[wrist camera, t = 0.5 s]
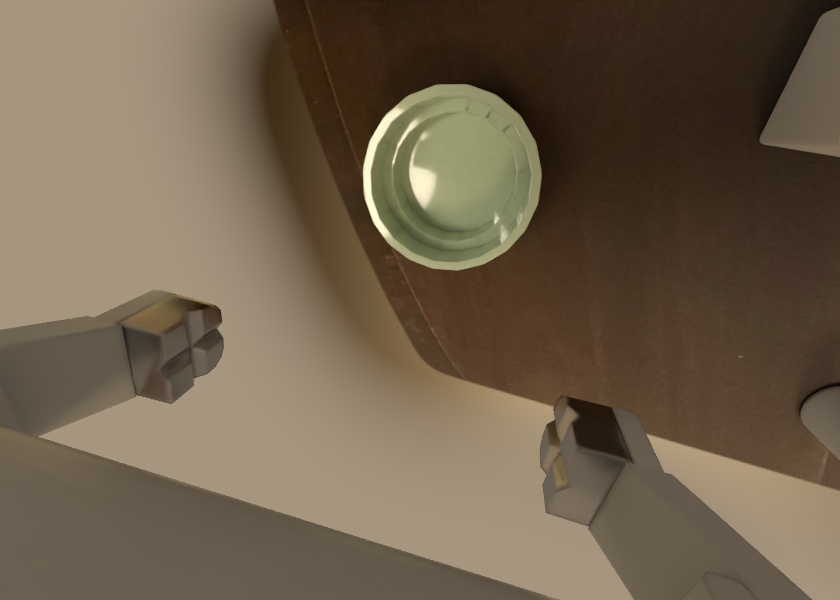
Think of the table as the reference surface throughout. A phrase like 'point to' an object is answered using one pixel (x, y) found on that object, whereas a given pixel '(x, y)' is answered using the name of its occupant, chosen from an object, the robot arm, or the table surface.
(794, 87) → the medicine bottle
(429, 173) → the bowl
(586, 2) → the table surface
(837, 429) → the beverage can
